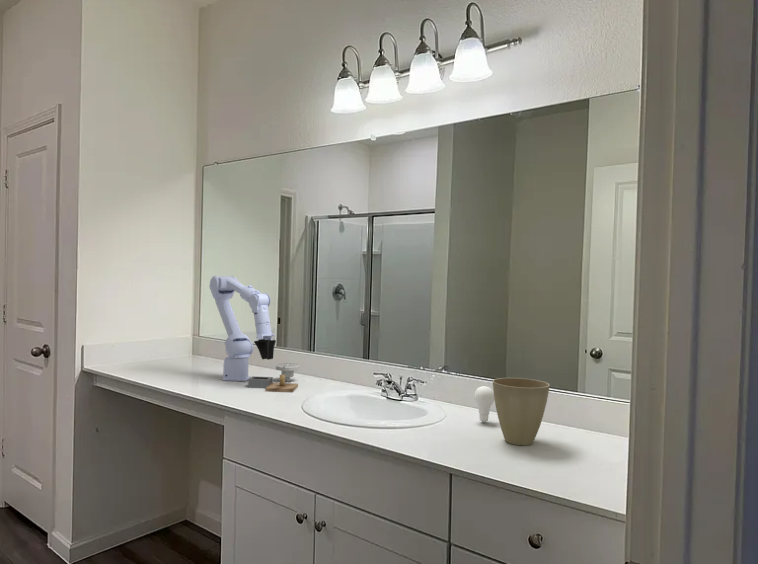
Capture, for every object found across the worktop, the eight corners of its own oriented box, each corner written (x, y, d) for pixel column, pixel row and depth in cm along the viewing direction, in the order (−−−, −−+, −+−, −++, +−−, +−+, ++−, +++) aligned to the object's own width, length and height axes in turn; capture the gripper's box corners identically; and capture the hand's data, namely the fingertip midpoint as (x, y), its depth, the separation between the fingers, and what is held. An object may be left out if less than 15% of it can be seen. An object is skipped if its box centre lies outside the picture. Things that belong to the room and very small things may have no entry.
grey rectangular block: (248, 387, 210) (248, 379, 210) (252, 384, 216) (252, 376, 216) (269, 388, 210) (269, 379, 210) (272, 385, 215) (272, 377, 215)
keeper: (265, 391, 205) (265, 377, 205) (272, 385, 215) (272, 372, 214) (292, 392, 204) (292, 378, 204) (297, 386, 214) (298, 373, 214)
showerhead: (272, 364, 220) (279, 360, 230) (272, 383, 220) (279, 378, 230) (296, 365, 219) (302, 361, 229) (295, 384, 219) (301, 379, 229)
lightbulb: (482, 426, 165) (483, 388, 164) (469, 421, 170) (470, 385, 170) (498, 424, 167) (499, 387, 167) (485, 419, 173) (486, 383, 173)
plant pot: (559, 448, 145) (561, 386, 145) (508, 451, 141) (510, 388, 141) (528, 432, 160) (530, 376, 159) (481, 435, 155) (482, 377, 155)
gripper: (268, 320, 208) (273, 357, 206) (277, 323, 223) (282, 357, 220) (249, 324, 208) (254, 360, 206) (260, 326, 223) (264, 360, 221)
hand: (267, 359), depth 213 cm, fingers open, 7 cm apart
